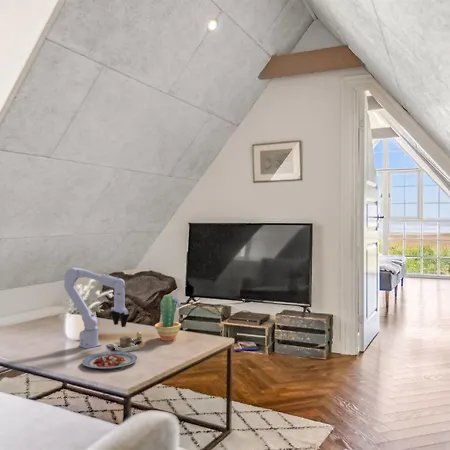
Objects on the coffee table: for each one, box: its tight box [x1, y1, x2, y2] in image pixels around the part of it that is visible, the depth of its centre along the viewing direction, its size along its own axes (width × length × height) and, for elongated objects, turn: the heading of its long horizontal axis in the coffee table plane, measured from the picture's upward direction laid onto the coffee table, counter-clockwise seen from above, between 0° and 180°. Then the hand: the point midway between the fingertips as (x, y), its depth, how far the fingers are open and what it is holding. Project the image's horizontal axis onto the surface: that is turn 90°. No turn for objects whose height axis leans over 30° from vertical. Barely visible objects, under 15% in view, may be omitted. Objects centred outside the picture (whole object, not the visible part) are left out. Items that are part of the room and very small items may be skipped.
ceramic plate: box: [81, 351, 138, 370], centre depth 227 cm, size 26×26×3 cm
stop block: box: [119, 335, 132, 348], centre depth 250 cm, size 4×4×6 cm
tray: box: [112, 343, 139, 353], centre depth 250 cm, size 9×9×2 cm
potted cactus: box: [154, 294, 182, 342], centre depth 273 cm, size 15×15×25 cm
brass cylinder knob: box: [131, 331, 142, 342], centre depth 263 cm, size 8×3×4 cm, turn 135°
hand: (119, 325), depth 260 cm, fingers open, 7 cm apart
